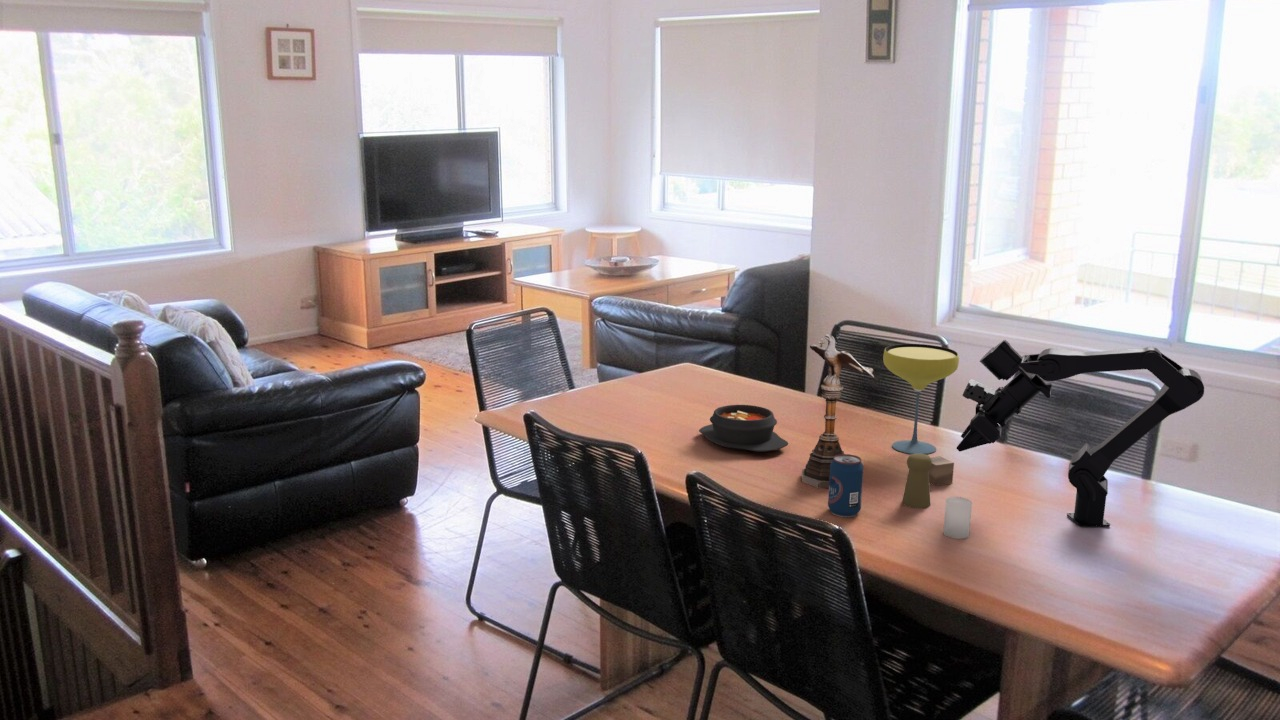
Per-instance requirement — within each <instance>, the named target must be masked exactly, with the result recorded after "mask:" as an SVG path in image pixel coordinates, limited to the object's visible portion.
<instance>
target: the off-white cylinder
mask: <svg viewBox="0 0 1280 720" xmlns="http://www.w3.org/2000/svg"><path fill="white" fill-rule="evenodd" d="M972 506H973V502H972V500H971V499H969V498H966V497H961V496H951V497H950V496H949V497H947V498H946V499H945V507H944V510H945V511H944V518H943V532H942V533H943V535H944V536H946V537H948V538H952V539H957V540H963V539H964V540H965V539H967V538H969V537H970V530H971V518H972Z"/></svg>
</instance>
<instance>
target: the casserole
mask: <svg viewBox="0 0 1280 720" xmlns="http://www.w3.org/2000/svg"><path fill="white" fill-rule="evenodd" d="M709 422H710V423H711V424H707V425H705V426H702V427H701V428H699V430H698V432H699V433H700V434H702V435H703V436H704V437H706V438H707V440H709V441H710V442H711V443H713V444H715V445H718V446H721V447H724V448H727V449H730V450H731V449H732V450H735V451H736V450H738V451H751V452H756V453H757V452H758V453H765V452H773V451H778V450H780V449H783V448H785V447H787V446H788V445H789V442H788V441H787V440H785V439H784V438H782V437H780V436H779V435H778V434H777V433H776V432H775V431H774V428H775V426H776V425H777V424H778V421H777V419H776V418H775V415H774V413H773V411H772V410H770V409H768V408H766V407H762V406H756V405H750V404H731V405H723V406H720V407H717V408H716V409H714V411H713V414H712V416H710V418H709Z"/></svg>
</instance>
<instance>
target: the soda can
mask: <svg viewBox="0 0 1280 720" xmlns="http://www.w3.org/2000/svg"><path fill="white" fill-rule="evenodd" d="M864 469H865V467H864V466H863V463H862V458H861V457H859V456H857V455H855V454H854V455H853V454H846V453H844V454H840V455H836V456H834V458H833V461H832V463H831V464H830V476H829V488H828V496H827V507H828V509H829V511H830V513H831V514H833V515H834V516H836V517H840V518H853V517H856V516H857V515H858V514H859V512H860V511H861V509H862V497H863V485H864V484H863V483H864Z"/></svg>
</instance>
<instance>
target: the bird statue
mask: <svg viewBox="0 0 1280 720" xmlns="http://www.w3.org/2000/svg"><path fill="white" fill-rule="evenodd" d="M824 339H825V340H827V342H828V343H827V347H826V348H825V347H823V344H825V343H826V342H825V341H824ZM817 343H818V344H819V345H818V344H810V345H809V349H811V350H812V351H814V353H815V354H817V355H818V356H819V357H820V358H822V360H824V361H825V362H826V363H827V370H828V373H829V374H827V375H826V377H824V379H823V383H822V384H821V385H820V387H819V388H820V389H821V397H822V398H823V399H825V414H824V415H823V418H824V421H825V423H824V424H825V427H824V428H825V429H824V431H823V433H821V434H820V435H819V439H818V441H817V443H816V445H815V446H814V448H813V449H812V450H811V453H809V458H808V460H807V462H806V464H805V468H802V469H801V482H802V483H804V484H807V485H810V486H813V487H815V488H818V489H829V476H830V464H831V463H832V461H833V458H834V456H836V455H840V454H845V451H844V450H843V449H842V447H841V444H840V441H839V440H840V438H839V436H838V435H837V434H836V432H835V424H836V423H835V421H836V419H837V416H836V407H837V406H836V405H837V402H838V400H839V399H841V398H842V391H843V390H844V386H843V385H841V381H840V375H841V373H842V369H844V370H847V371H848V370H849V371H851V372H853V371H854V372H857V373H861V374H864V373H865V372H866V373H867V374H869V376H870V377H872V378H873V379H875V376H874V374H873V373H874V369H873V368H872V367H867V366H864V365H862V364H860V363H859V362H858V361H857V360H856V359H855V357H854V356H853V355H852V354H851V353H850V352H848V351H844V350H841V351H839V350H837V348H836V339H835V337H834V336H833V335H831V334H828V333H826V334H825V335H824V337H821V340H820V341H817Z"/></svg>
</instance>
